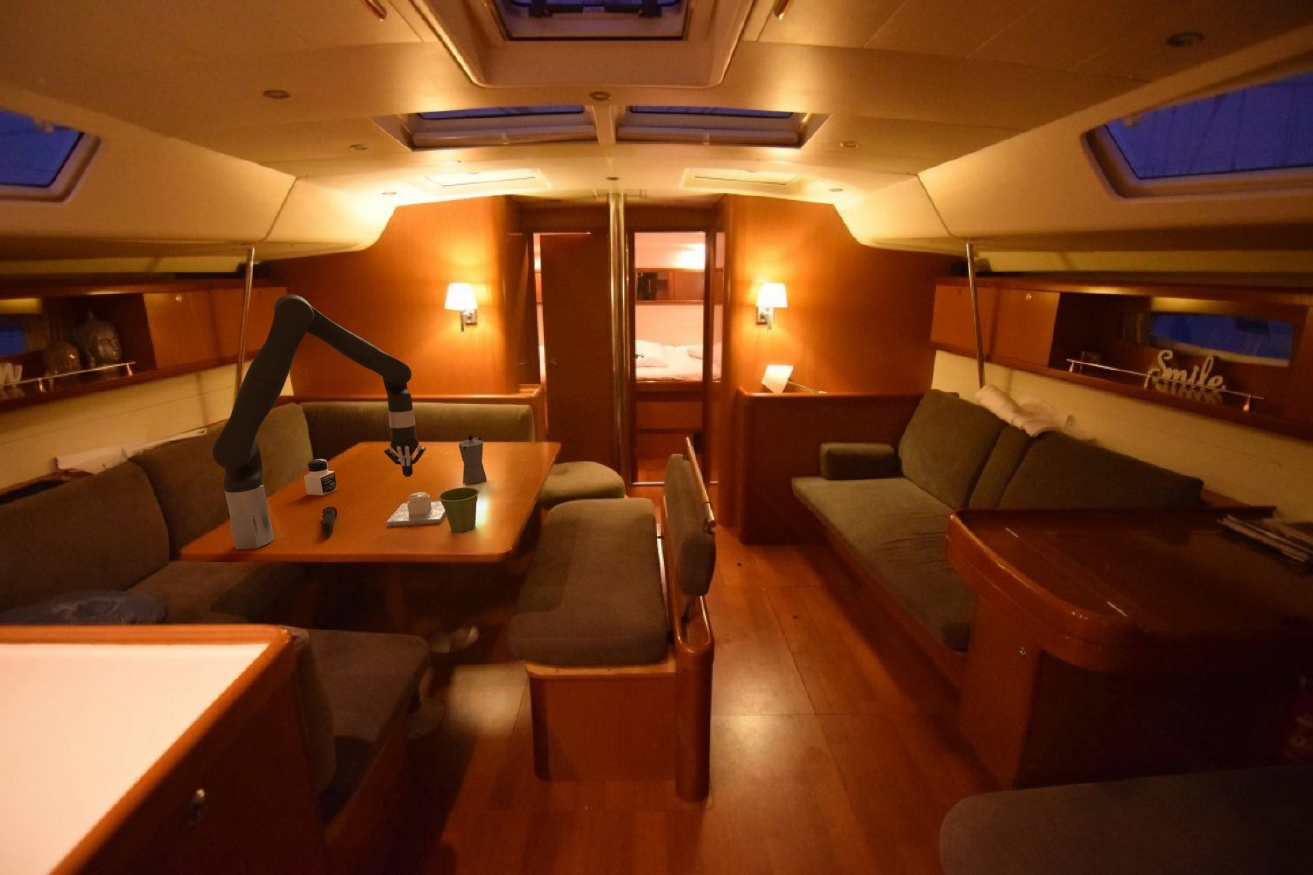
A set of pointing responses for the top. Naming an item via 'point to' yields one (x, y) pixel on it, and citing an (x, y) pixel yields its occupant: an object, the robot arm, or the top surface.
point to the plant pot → (460, 507)
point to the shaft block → (417, 516)
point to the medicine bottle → (319, 478)
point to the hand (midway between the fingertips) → (408, 476)
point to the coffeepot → (472, 461)
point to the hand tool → (328, 520)
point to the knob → (419, 503)
